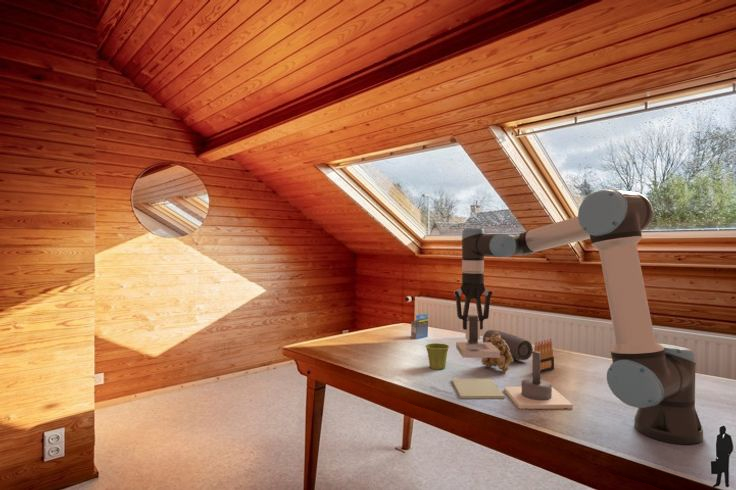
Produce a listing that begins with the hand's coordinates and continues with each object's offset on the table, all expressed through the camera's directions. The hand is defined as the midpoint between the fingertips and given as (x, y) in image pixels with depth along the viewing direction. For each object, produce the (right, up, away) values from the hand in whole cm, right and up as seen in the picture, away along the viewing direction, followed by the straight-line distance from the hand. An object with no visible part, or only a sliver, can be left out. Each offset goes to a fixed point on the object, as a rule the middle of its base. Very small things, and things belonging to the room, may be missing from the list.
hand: (472, 338), depth 158 cm
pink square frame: (0, -3, -6) cm, 7 cm away
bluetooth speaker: (+23, -15, +35) cm, 45 cm away
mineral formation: (+14, -16, +17) cm, 27 cm away
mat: (0, -16, -5) cm, 17 cm away
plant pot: (-9, -16, +20) cm, 27 cm away
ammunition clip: (+31, -16, +14) cm, 37 cm away
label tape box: (-10, -15, +72) cm, 74 cm away
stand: (+17, -16, -15) cm, 28 cm away
